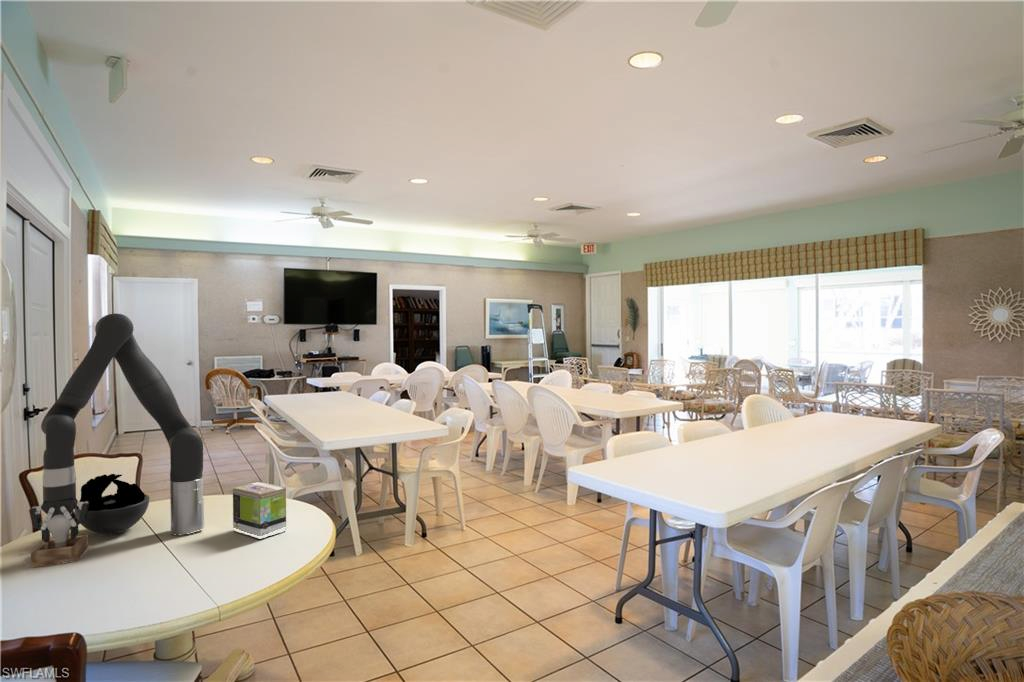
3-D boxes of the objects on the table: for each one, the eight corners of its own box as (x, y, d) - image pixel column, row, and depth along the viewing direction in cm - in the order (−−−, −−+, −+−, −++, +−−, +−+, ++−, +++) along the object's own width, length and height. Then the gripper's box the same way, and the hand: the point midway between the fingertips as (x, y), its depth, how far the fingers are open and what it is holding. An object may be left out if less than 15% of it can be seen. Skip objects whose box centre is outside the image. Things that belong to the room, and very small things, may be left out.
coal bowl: (89, 525, 192) (88, 470, 191) (157, 519, 198) (156, 465, 198) (63, 547, 173) (62, 485, 172) (139, 539, 179) (138, 480, 178)
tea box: (287, 531, 186) (287, 486, 186) (259, 541, 177) (259, 494, 177) (259, 523, 194) (259, 480, 194) (231, 532, 186) (231, 487, 185)
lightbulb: (56, 555, 161) (56, 517, 161) (42, 552, 163) (41, 514, 163) (79, 547, 167) (78, 510, 167) (64, 545, 169) (64, 508, 169)
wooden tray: (89, 547, 172) (88, 534, 172) (77, 561, 162) (77, 547, 162) (44, 553, 168) (44, 539, 168) (29, 567, 158) (29, 553, 158)
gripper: (23, 488, 159) (24, 548, 159) (85, 482, 164) (86, 540, 164) (33, 481, 165) (34, 539, 166) (93, 476, 171) (94, 532, 171)
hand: (60, 539), depth 165 cm, fingers closed on lightbulb, 5 cm apart
